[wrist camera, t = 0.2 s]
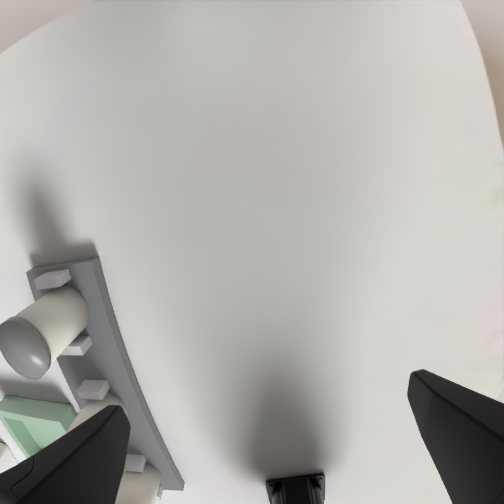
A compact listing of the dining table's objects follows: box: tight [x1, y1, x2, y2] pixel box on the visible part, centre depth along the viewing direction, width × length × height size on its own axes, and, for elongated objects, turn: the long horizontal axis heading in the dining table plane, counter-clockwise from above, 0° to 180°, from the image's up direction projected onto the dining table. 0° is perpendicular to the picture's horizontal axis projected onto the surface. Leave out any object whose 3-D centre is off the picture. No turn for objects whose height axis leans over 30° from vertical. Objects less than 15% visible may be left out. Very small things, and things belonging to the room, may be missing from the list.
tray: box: [0, 395, 77, 458], centre depth 26 cm, size 11×11×3 cm
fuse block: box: [0, 257, 184, 504], centre depth 22 cm, size 27×7×8 cm, turn 8°
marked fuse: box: [66, 392, 128, 433], centre depth 21 cm, size 4×4×7 cm
